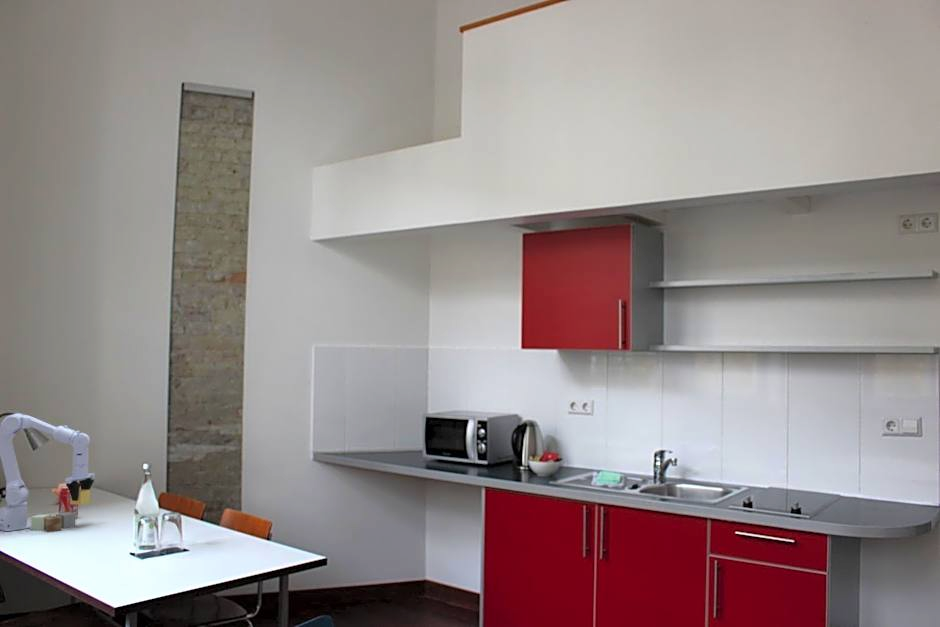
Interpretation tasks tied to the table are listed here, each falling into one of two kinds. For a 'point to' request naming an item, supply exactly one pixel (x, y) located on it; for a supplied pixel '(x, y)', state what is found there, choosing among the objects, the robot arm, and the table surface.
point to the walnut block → (53, 523)
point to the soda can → (66, 502)
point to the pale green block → (38, 522)
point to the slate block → (67, 519)
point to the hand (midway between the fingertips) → (79, 499)
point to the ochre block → (82, 497)
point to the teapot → (59, 490)
